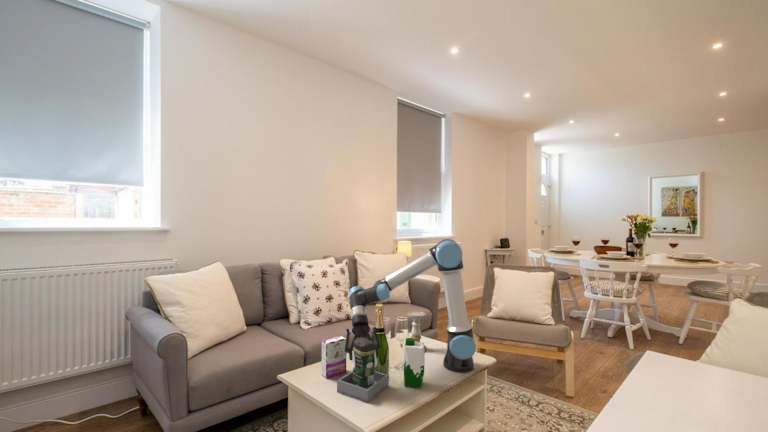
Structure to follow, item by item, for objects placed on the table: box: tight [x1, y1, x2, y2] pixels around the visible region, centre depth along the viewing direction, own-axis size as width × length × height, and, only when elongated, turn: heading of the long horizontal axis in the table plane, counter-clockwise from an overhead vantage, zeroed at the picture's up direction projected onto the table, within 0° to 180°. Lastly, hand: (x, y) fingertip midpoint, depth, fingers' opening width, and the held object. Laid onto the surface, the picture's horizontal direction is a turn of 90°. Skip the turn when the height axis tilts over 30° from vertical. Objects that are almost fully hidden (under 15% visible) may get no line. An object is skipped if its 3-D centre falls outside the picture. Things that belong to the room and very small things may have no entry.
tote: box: [336, 370, 390, 404], centre depth 160 cm, size 16×17×5 cm
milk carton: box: [403, 337, 426, 390], centre depth 165 cm, size 9×9×20 cm
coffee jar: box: [352, 337, 376, 387], centre depth 159 cm, size 10×8×19 cm
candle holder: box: [406, 310, 428, 352], centre depth 207 cm, size 12×12×20 cm
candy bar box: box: [321, 335, 347, 379], centre depth 174 cm, size 11×5×16 cm, turn 129°
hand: (365, 366), depth 156 cm, fingers closed on coffee jar, 9 cm apart
